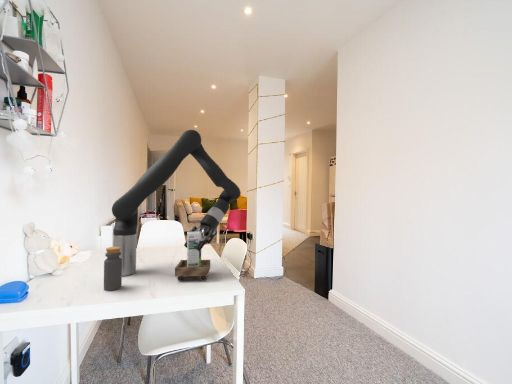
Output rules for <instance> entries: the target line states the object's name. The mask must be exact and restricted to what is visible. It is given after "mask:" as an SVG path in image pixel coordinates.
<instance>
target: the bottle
mask: <svg viewBox="0 0 512 384" xmlns="http://www.w3.org/2000/svg"><path fill="white" fill-rule="evenodd" d="M105 249H106V253H105V254H104V255H105V256H104V257H106V259H105V260H104V261H103V291H108V292H110V291H111V292H112V291H117V290H120V289H121V288H122V281H123V276H122V259H121V258H120V257H119V256H120V255H121V252H120V247H113V246H110V247H106V248H105Z"/></svg>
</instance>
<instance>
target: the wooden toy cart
mask: <svg viewBox="0 0 512 384" xmlns="http://www.w3.org/2000/svg"><path fill="white" fill-rule="evenodd" d="M210 269H211V259H201V267H189V268H188V267H187V259H180V261H179V262H178V264H176V266H175V268H174V277H177V281H179V282H182V281H183V280H184V278H185V277H199V280H200V281H202V282H203V281H205V280H206V279H207V277H208V275H209V273H210Z"/></svg>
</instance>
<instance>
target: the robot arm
mask: <svg viewBox="0 0 512 384" xmlns="http://www.w3.org/2000/svg"><path fill="white" fill-rule="evenodd" d="M189 155H191V156H192V157H193V159H195V160H196V162H197V163H198V164H199V165H200V166H201V168H202V169H203V171H204V172H205V174H206V175H207V177H208V178H209V179H210V181H212V184H214V185H215V186H216V187H217V188H222V189H223V190H222V191H221V192H220V195H218V198H217V200H216V202H215V203H213V205H212V207H210V209H209V210H208V211H207V212H206V213H205V214H204V216H203V217H202V219H201V220H200V224H199V226H198V227H197V226H196V225H195V226H193V227H192V229H191V230H189V232H194V231H201V241H200V242H199V244H198V245H197V247H196V249H197V250H198V251H200V250H201V251H202V249H203V248H204V246H205V245H207V244H211V242H212V241H213V239H214V237H216V234H217V231H216V230H217V228H218V226H220V223H221V222H222V220H224V217H226V214H227V213H228V211H229V210H230V205H231V203H232V202H233V201H236V200H238V199H239V198H240V197H241V189H240V187H239V186H238V185H237V183H235V182H234V181H233V180H232V179H230V178H229V177H228V176H227V175H226V173H225V172H224V171H223V170H222V168H221V167H220V165H218V163H217V162H215V160H214V159H213V158H212V157H211V156H210V155H209V154H208V152H207V151H206V150H205V148H204V146H203V145H202V136H201V134H200V133H199V132H198V131H197V130H195V129H188V130H185V131H184V132H183V133H182V134H181V135H180V136H179V138H178V140H176V142H175V143H174V144H173V145H172V146H171V148H170V149H169V150H168V151H166V152H165V153H164V154H163V155H162V156H160V157H159V158H158V159H157V160H155V162H153V164H152V165H151V166H150V167H149V168H148V169H147V170H146V171H145V172H144V173H143V174H142V175H141V177H140V178H138V180H137V181H136V183H135V184H134V185H133V186H131V188H130V189H129V190H127V192H125V193H124V194H123V195H122V196H121V197H119V198H118V199H116V200H115V202H114V203H113V204H112V207H111V212H112V215H113V217H114V218H115V222H114V227H113V229H112V230H113V233H112V238H113V239H112V247H120V252H121V255H120V256H119V257H120V258H121V259H122V277H127V276H131V275H134V274H135V273H136V272H137V230H138V229H137V228H138V219H139V207H140V206H141V205H142V203H143V202H144V201H145V200H146V199H147V198H148V197H149V196H151V195H152V194H153V193H155V192H156V191H158V189H160V188H161V187H162V186H164V184H165V183H166V182H168V180H169V179H170V178H171V177H172V176H173V174H174V173H175V172H176V171H177V170H178V168H179V166H180V165H181V163H182V162H183V161H184V160H185V158H187V157H188V156H189ZM183 247H185V248H186V249H187V240H186V241H185V242H184V244H183Z"/></svg>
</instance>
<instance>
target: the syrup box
mask: <svg viewBox="0 0 512 384" xmlns="http://www.w3.org/2000/svg"><path fill="white" fill-rule="evenodd" d="M186 239H187V240H186V241H187V248H186V258H187V259H186V260H187V267H188V268H189V267H201V260H202V249H201V250H200V251H198V250H197V249H196V247H197V245H198V244H199V242H200V241H202V238H201V231H194V232H190V231H187V234H186Z"/></svg>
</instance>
